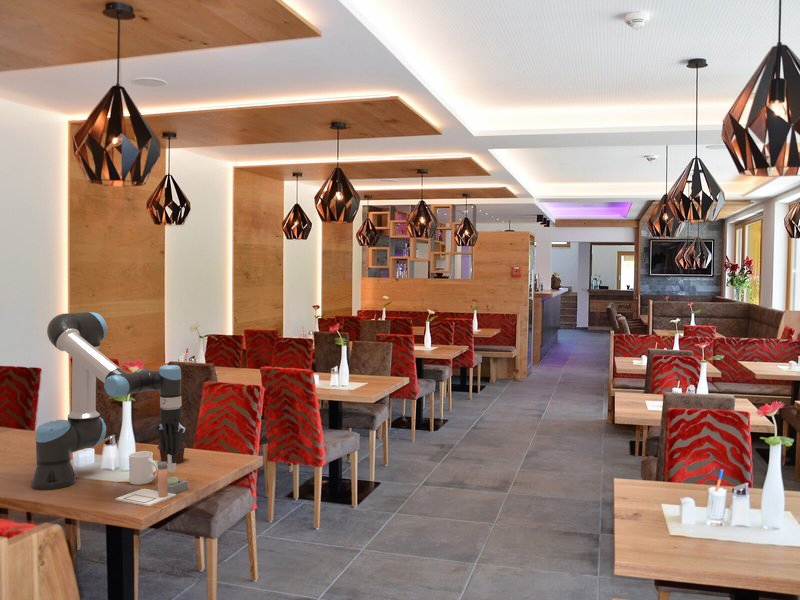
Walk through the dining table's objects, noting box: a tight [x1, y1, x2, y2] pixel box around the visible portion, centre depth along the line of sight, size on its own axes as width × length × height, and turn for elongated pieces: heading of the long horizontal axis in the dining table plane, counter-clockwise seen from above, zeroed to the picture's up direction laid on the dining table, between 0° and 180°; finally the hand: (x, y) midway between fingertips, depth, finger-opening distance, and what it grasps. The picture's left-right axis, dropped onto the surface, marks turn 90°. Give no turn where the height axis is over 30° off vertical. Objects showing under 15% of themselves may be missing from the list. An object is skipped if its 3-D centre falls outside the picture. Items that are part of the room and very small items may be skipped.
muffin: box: [157, 440, 187, 465], centre depth 300 cm, size 12×11×10 cm
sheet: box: [115, 488, 177, 507], centre depth 252 cm, size 16×13×1 cm
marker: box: [157, 461, 168, 497], centre depth 252 cm, size 3×3×12 cm
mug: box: [128, 450, 158, 486], centre depth 271 cm, size 9×12×11 cm
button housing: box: [155, 479, 189, 495], centre depth 260 cm, size 8×8×3 cm
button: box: [167, 476, 179, 485], centre depth 260 cm, size 4×4×3 cm
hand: (172, 471), depth 260 cm, fingers closed
